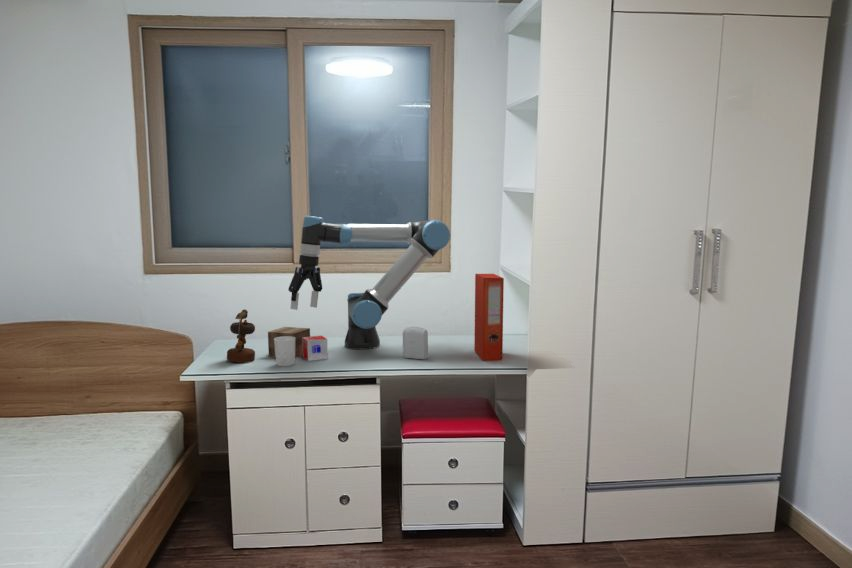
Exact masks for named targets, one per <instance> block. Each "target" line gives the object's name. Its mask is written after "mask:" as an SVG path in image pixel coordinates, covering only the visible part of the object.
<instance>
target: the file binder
mask: <svg viewBox="0 0 852 568" xmlns="http://www.w3.org/2000/svg"><path fill="white" fill-rule="evenodd" d="M474 276H475V277H474V280H475V281H474V283H475V284H474V288H475V289H474V344H473V345H474V347H473V349H474V352H475V353H476V355H477V356H478V357H479V358H480V360H481V361H483V362H488V361H489V362H492V361H495V362H497V361H502V360H503V350H504V349H503V347H504V346H503V345H504V344H503V341H504V339H503V337H504V336H503V335H504V334H503V332H504V289H505V288H504V284H505V283H504V282H505V281H504V279H505V278H504V277H501V276H500V275H498V274H495V273H475V275H474Z"/></svg>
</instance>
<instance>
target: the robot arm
mask: <svg viewBox="0 0 852 568" xmlns="http://www.w3.org/2000/svg"><path fill="white" fill-rule="evenodd" d="M450 240H451V231H450V229H449V227H448V225H447V224H445V222H443V221H441V220H438V219H426V220H421V221H409V222H407V223H404V224H403V223H400V224H399V223H397V224H396V223H391V224H389V223H336V222H335V223H330V222H329V223H328V222H324V218H323V217H320V216H313V215H312V216H311V215H305V216H304V217H303V222H302V230H301V240H300V241H301V243H300V249H299V253H300V254H299V259H298V261H299V262H298V264H299V265H301V266H300V267H299V266H296V267H295V268H294V269H295V270H294V274H293V277H292V278H291V281H290V283H289V286H288V291H289V293H291V297H290V309H291V310H295V311H297V310H298V306H299V296H300V293H299V291H300V289H301V287H302V286H303V284H304V282H305V281H306V280H309V282H310V285H311V287H312V290H311V294H310V295H311V297H310V307H311V308H314V309H315V308H316V309H317V307H318V302H319V301H318V298H319V292H322V290H323V283H322V276H321V268H320V267H318V266H319V262H320V261H319V260H320V257H319V256H320V253H321V242H327V243H333V244H341V245H350V244H351V243H352V242H353V243H356V242H357V243H361V242H363V243H407V244H408V245H409V246H408V248H407V249H406V250H405V251H404V252H402V254H401V256H400V257H399V258H398V259H397V260H396V261H395V263H393V265H392V266H391V267H390V268H389V270H387V271H386V273H384V274H383V276H382V277H381V278H380V279H379V280H378V282H377V283H376V284H375V286H373V287H372V288H368V289H366V290H365V291H364V292H350V293H348V295H347V321H348V322H347V323H348V325H347V326H348V328H347V332H346V335H345V339H344V347H345V348H346V347H347V349H350V348H351V350H368V349H369V348H370V349H375V348H374V347H376V348H378V347H380V346H379V345H381V340H380V337H379V334H378V331H377V328H376V326H377V325H378V324H379V323H380V321H381V320H382V317H383V315H384V314H385V313H386V312H387V310H388V309H389V302H391V300H392V299H393V298H394V297H395V296H396V294H397V293H398V292H399V291H400V290H401V289H402V287H403V286H404V285H405V284H406V283H407V281H408V280H410V278H411V277H412V276H413V275H414V273H416V272H417V270H418V269H419V268H420V267H421V266H422V264H424V262H425V261H426V260H427V259H433V257H434V256H435V255H436V254H437V253H438V252H439V251H440V250H442V249H444V248H445V247H446V246H447V245H448V244H449V242H450ZM377 346H378V347H377ZM370 349H369V350H370Z"/></svg>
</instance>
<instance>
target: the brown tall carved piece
mask: <svg viewBox="0 0 852 568" xmlns="http://www.w3.org/2000/svg"><path fill="white" fill-rule="evenodd" d="M248 314H249V312H248V310H247V309H246V308H244V309H242V310H241V311H240V312H238V313H237V315H236V316H235V318H234V319H235V320H239V321H237V322H232V323H231V325H230V326H229V330H230V332H231V333H232V334H233V335H236V339H238V340H237V343H236V344H235V346H234V347H232V348H229V349H228V350H227V351H226V360H227V361H228V362H233V363H251V362H254V361H255V360H256V359H255V358H256V351H255V350H254V349H252V348H249V347H245V345H246V343H247V340H246V336H247V335H253V333H255V331H256V325H255V324H254V323H252V322H248V320H247V318H248ZM243 320H244V321H243Z"/></svg>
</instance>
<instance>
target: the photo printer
mask: <svg viewBox="0 0 852 568" xmlns="http://www.w3.org/2000/svg"><path fill="white" fill-rule="evenodd" d="M402 356H403V358H404V359H416V360H427V359H428V358H429V335H428V330H427V329H426V328H423V327H419V326H409V327H405V328H404V329H403V330H402Z"/></svg>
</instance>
